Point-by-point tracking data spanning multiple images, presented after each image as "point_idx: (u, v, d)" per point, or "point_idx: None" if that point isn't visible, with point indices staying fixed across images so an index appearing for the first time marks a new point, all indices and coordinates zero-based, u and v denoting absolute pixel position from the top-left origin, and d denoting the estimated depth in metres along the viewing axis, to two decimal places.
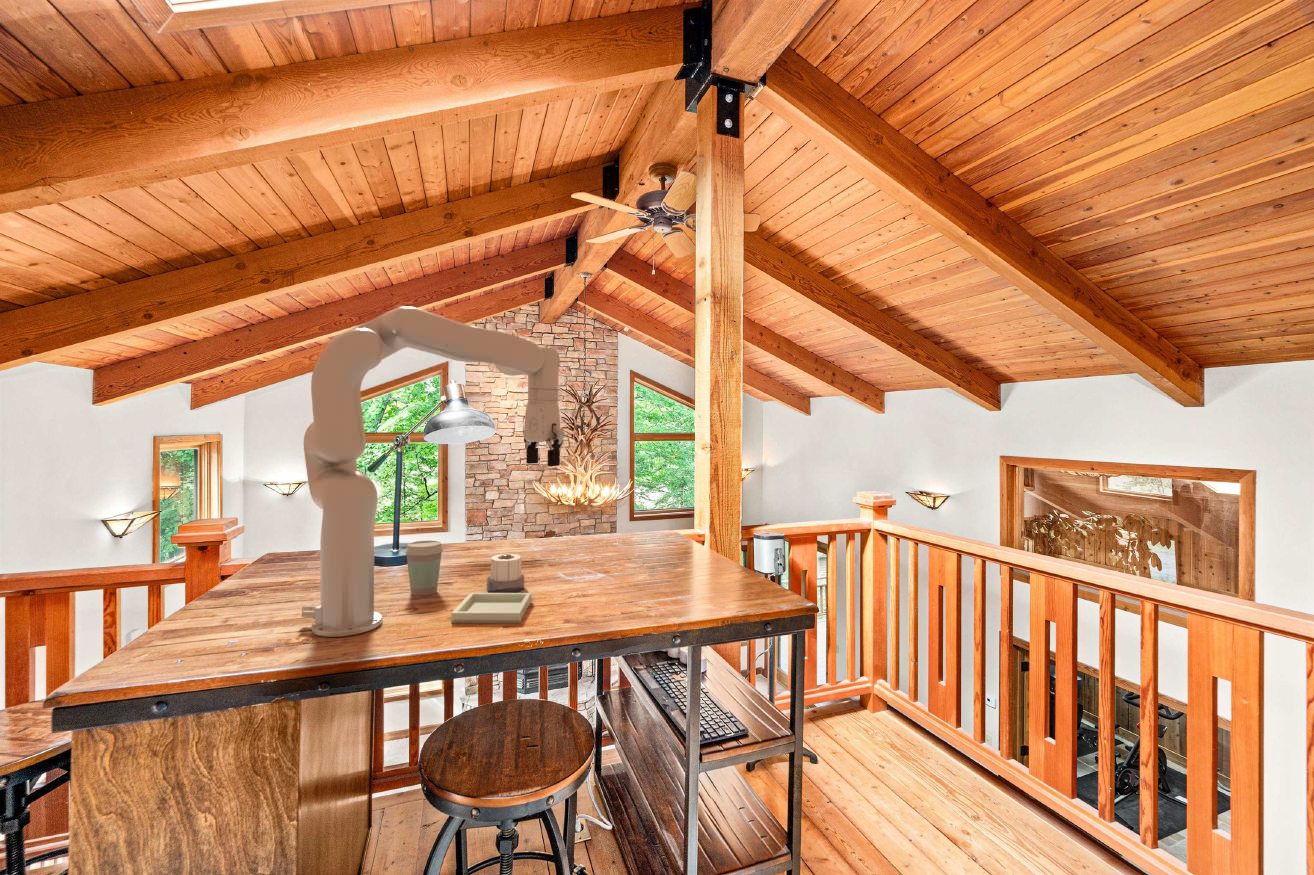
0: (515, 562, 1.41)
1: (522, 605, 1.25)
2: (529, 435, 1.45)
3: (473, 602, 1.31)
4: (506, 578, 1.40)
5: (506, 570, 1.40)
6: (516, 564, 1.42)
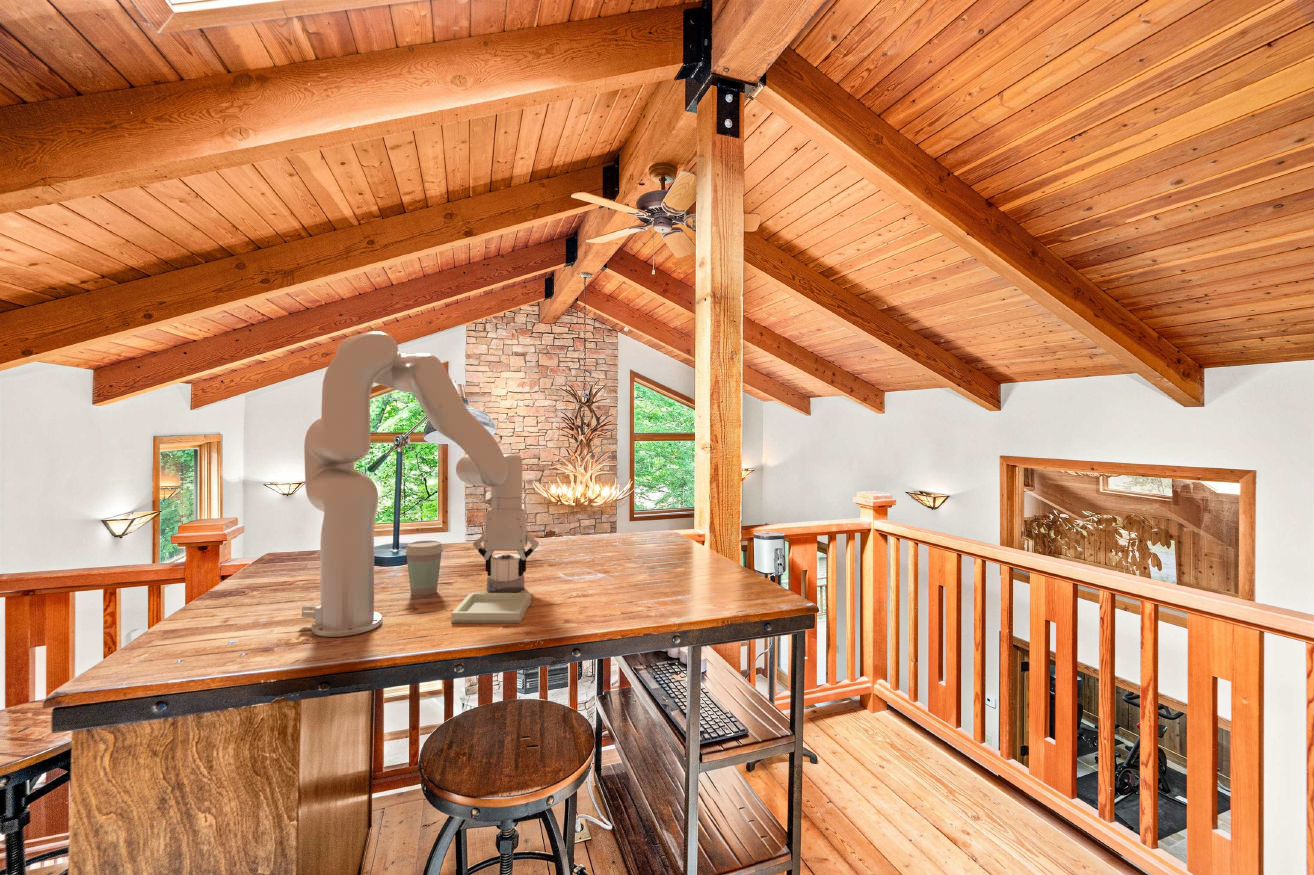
0: (515, 562, 1.41)
1: (522, 605, 1.25)
2: (495, 545, 1.40)
3: (473, 602, 1.31)
4: (506, 578, 1.40)
5: (506, 570, 1.40)
6: (516, 564, 1.42)
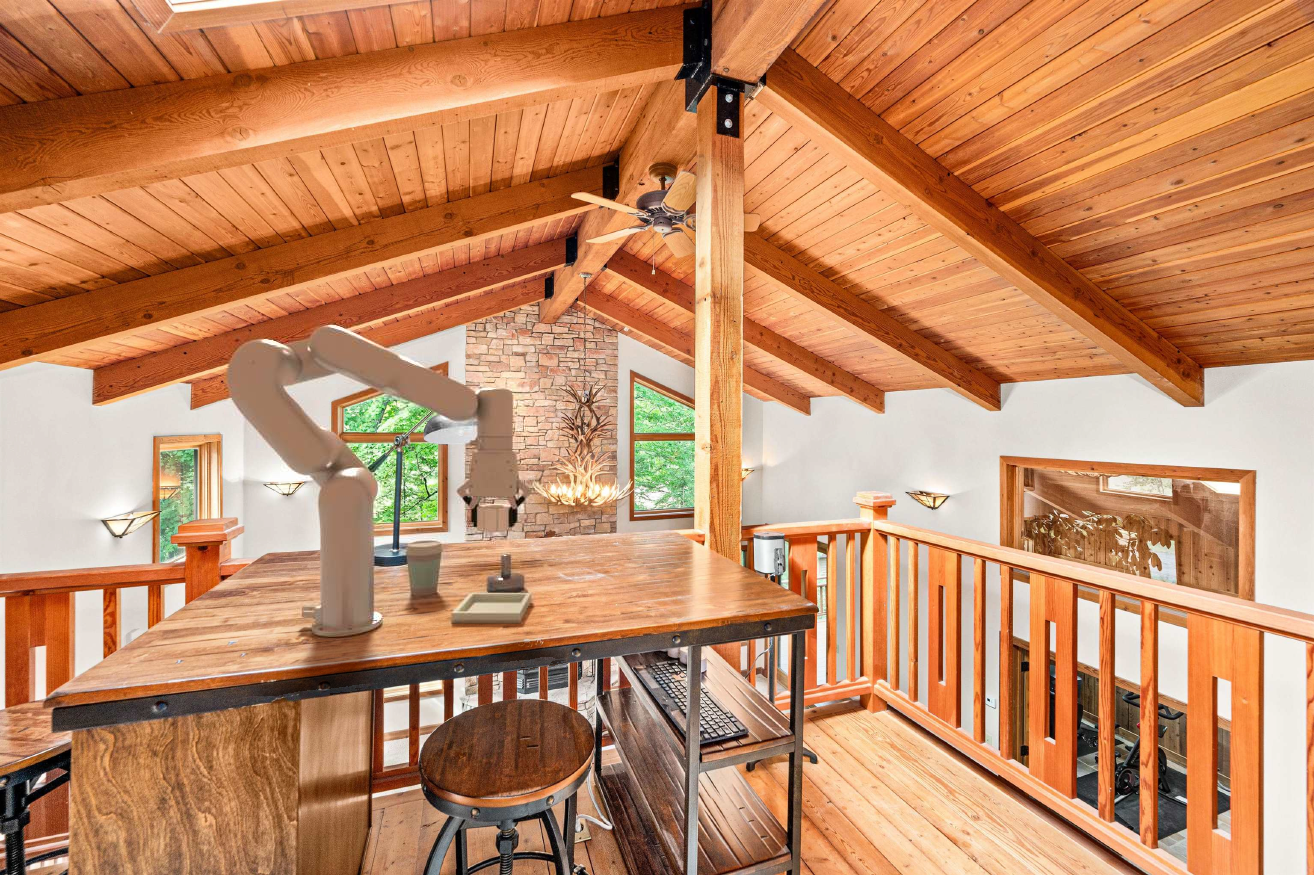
0: (505, 511, 1.24)
1: (522, 605, 1.25)
2: (482, 491, 1.23)
3: (473, 602, 1.31)
4: (494, 529, 1.23)
5: (494, 519, 1.23)
6: (506, 513, 1.24)
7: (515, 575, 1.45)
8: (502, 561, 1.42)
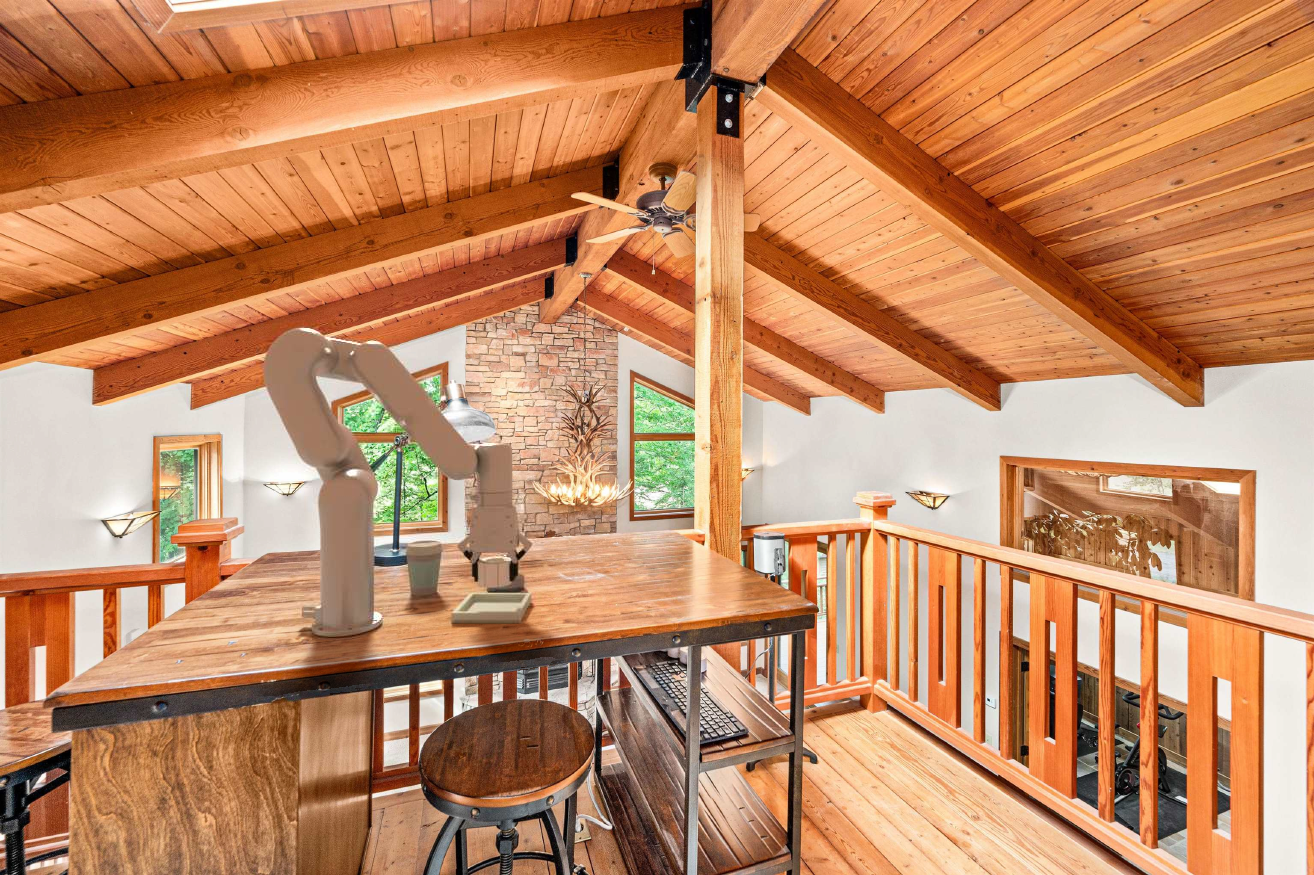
0: (505, 566, 1.24)
1: (522, 605, 1.25)
2: (483, 547, 1.23)
3: (473, 602, 1.31)
4: (495, 584, 1.23)
5: (495, 575, 1.23)
6: (507, 568, 1.25)
7: None
8: None
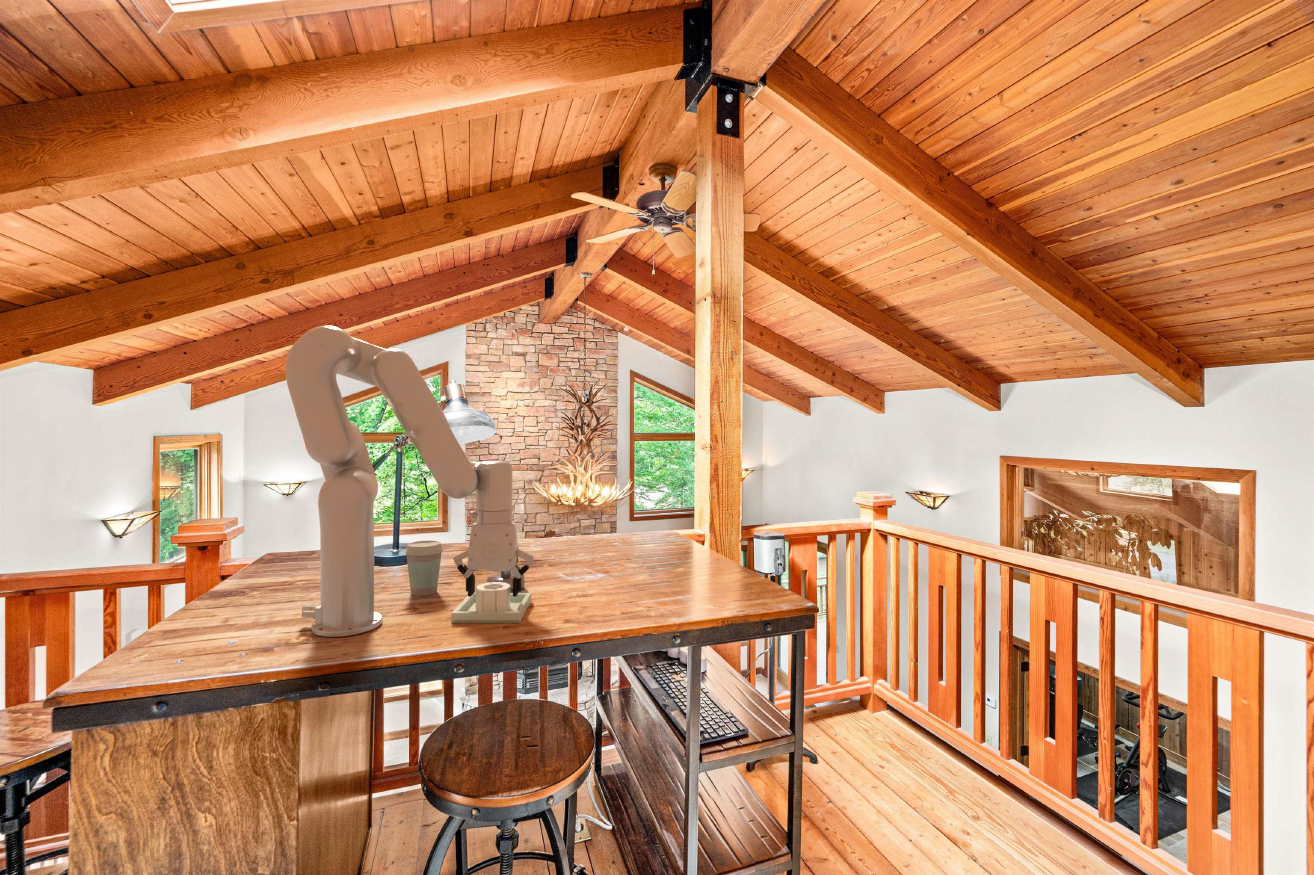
0: (503, 592, 1.24)
1: (522, 605, 1.25)
2: (481, 565, 1.23)
3: (473, 602, 1.31)
4: (493, 611, 1.23)
5: (493, 602, 1.23)
6: (504, 595, 1.25)
7: None
8: None
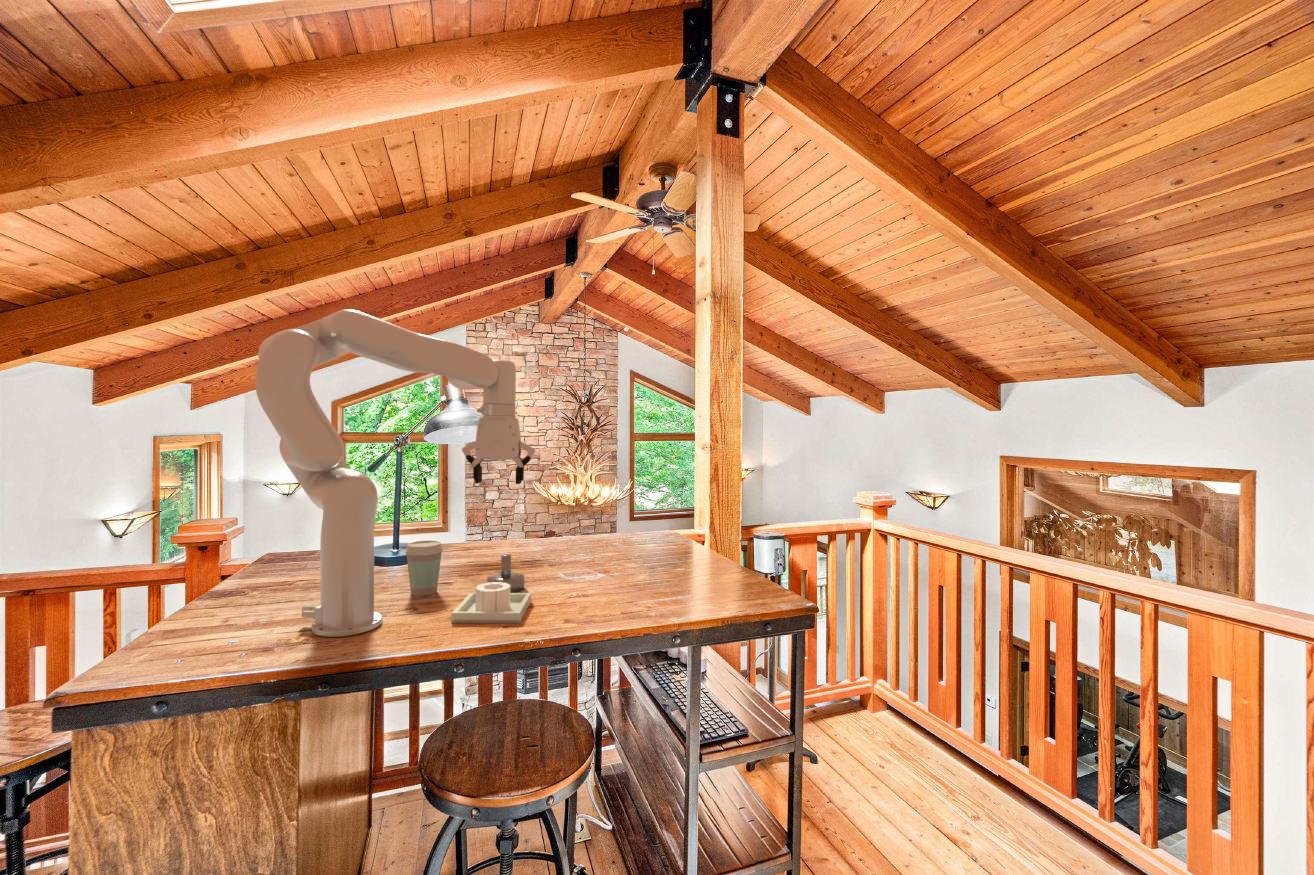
0: (503, 592, 1.24)
1: (522, 605, 1.25)
2: (487, 453, 1.36)
3: (473, 602, 1.31)
4: (493, 611, 1.23)
5: (493, 602, 1.23)
6: (504, 595, 1.25)
7: (515, 575, 1.45)
8: (502, 561, 1.42)
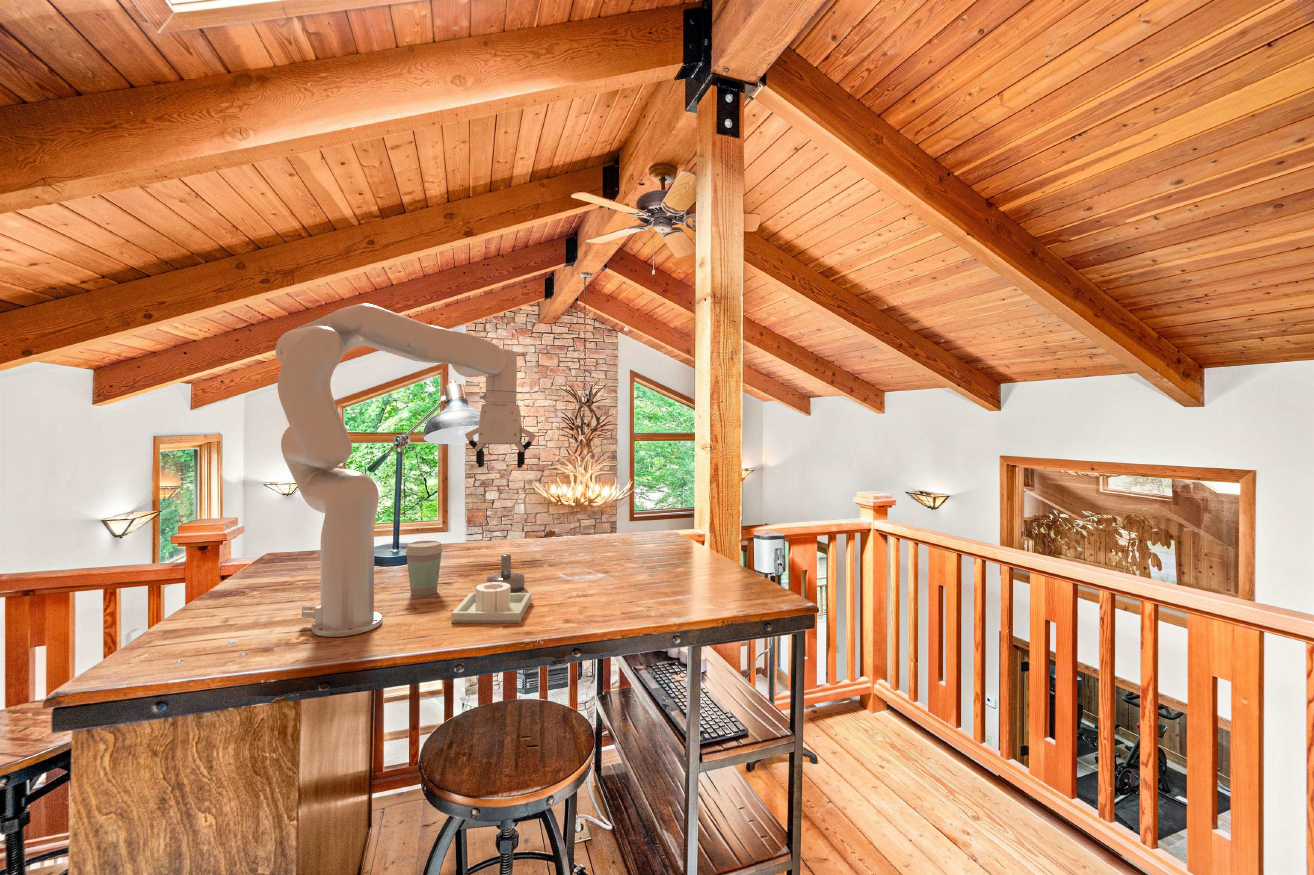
0: (503, 592, 1.24)
1: (522, 605, 1.25)
2: (490, 438, 1.42)
3: (473, 602, 1.31)
4: (493, 611, 1.23)
5: (493, 602, 1.23)
6: (504, 595, 1.25)
7: (515, 575, 1.45)
8: (502, 561, 1.42)
